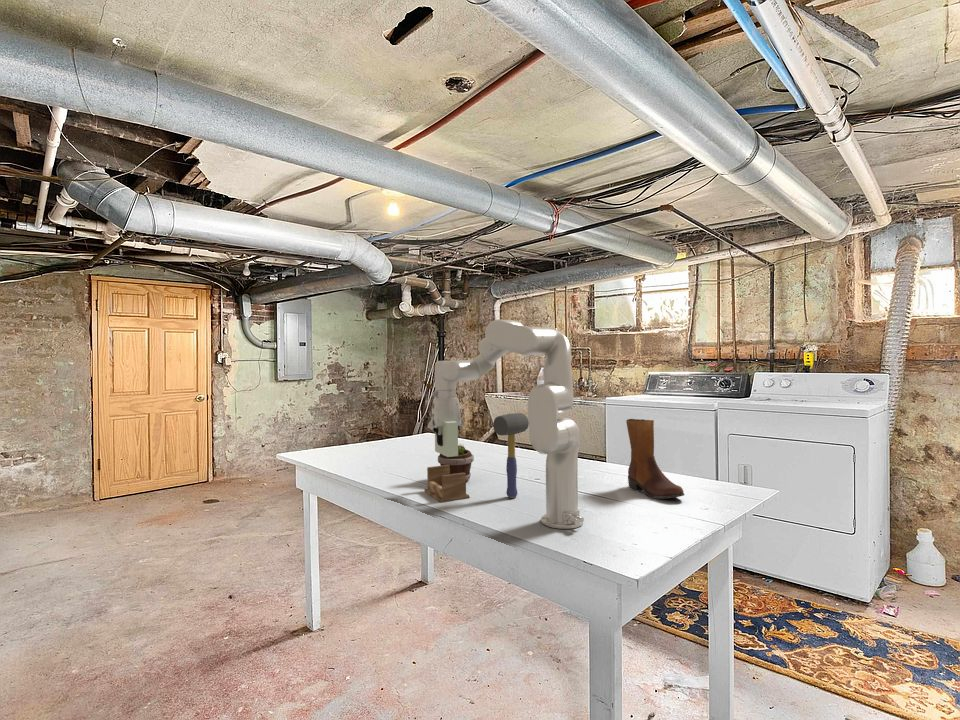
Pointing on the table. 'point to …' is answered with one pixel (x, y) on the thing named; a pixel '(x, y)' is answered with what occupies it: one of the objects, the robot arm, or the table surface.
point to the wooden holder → (446, 484)
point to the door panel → (448, 439)
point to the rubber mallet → (511, 444)
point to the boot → (647, 463)
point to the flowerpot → (458, 462)
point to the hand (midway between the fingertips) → (446, 444)
